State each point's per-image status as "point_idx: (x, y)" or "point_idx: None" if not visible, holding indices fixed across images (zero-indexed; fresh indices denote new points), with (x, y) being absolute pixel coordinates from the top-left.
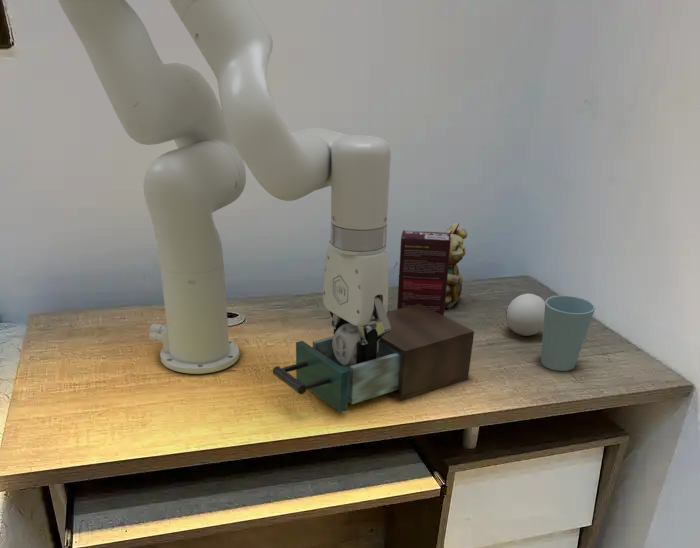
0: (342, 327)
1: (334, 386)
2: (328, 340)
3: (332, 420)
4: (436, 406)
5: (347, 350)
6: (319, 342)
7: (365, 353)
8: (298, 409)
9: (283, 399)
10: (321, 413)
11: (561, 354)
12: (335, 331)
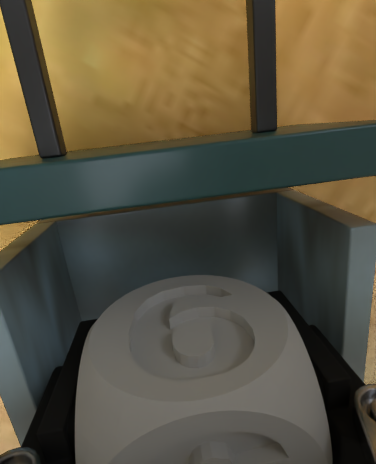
0: (288, 441)
1: (12, 161)
2: (343, 306)
3: (16, 126)
4: (7, 420)
5: (119, 338)
6: (347, 254)
7: (44, 407)
8: (134, 47)
9: (225, 30)
10: (76, 113)
11: None
12: (324, 373)
